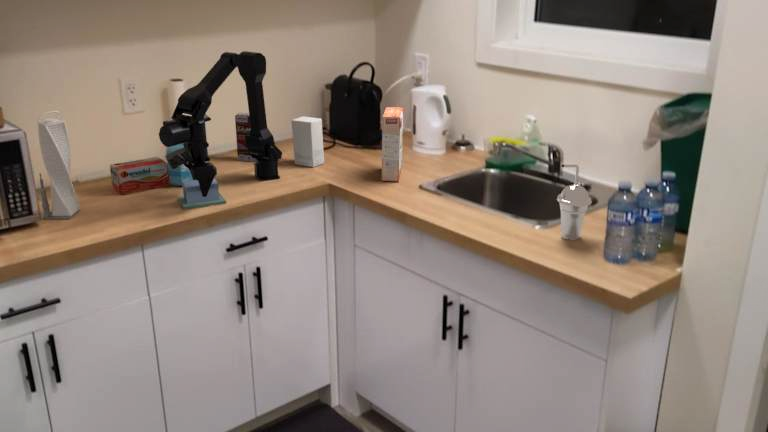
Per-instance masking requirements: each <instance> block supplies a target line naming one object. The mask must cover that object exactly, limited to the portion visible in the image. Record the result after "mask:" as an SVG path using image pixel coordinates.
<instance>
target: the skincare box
mask: <svg viewBox="0 0 768 432" xmlns="http://www.w3.org/2000/svg"><path fill="white" fill-rule="evenodd" d="M291 130H292V140H293V141H292V142H293V143H292V144H293V154H294V155H293V156H294V165H297V166H303V167H308V168H316V167H319V166H321V165H322V164H325V155H324V152H325V151H324V139H323V120H322V118H320V117H311V116H305V115H304V116H303V115H302V116H300V117H297V118H294V119H292V120H291Z"/></svg>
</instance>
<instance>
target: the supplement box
mask: <svg viewBox="0 0 768 432" xmlns="http://www.w3.org/2000/svg"><path fill="white" fill-rule="evenodd" d="M234 119H235V120H234V121H235V138H236V152H237V153H236V154H237V161H239V162H240V161H242V162H254V163H256V158H252V157H251V154H250V152H249V151H248V148H246V140H245V135H248V134H249V132H250V130H251V124H250V116H249V112H238V113H237V114H235V115H234Z"/></svg>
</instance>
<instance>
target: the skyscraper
mask: <svg viewBox="0 0 768 432" xmlns="http://www.w3.org/2000/svg"><path fill="white" fill-rule="evenodd" d="M52 113H56V117H55V118H53V117H52V118H51V117H50V118H46V119H44V121H41V120H42V119H43V117H45V116H47V115H49V114H52ZM59 116H60V111H59V110H51V111H50V110H49V111H47V112H45V113H43V114H41V115H40V117H39V118H38V120H37V131H38V141H39V147H40V148H39V150H40V154H41V157H42V158H41V159H42V161H43V165H44V168H45V171H46V173H47V175H48V176H47V177H48V178H49V181H50V184H49V185H50V186H49V187H50V200H51V201H50V203H51V204H49V200H48V196H47V189H46V188H45V185H44V179H43V178H42V173H39V174H38V175H39V184H40V189H39V192H40V196H41V202H42V203H41V207H42V210H43V217H42V220H46V221H48V220H51V221H52V220H54V221H55V220H56V221H57V220H58V221H69V220H71V219H72V218H73V217H74V216H75V215H77V214H78V213H79V212H80V211H81V209H80V205H79V202H78V198H77V195H76V191H75V188H74V185H73V182H72V178H71V176H70V174H71V165H72V153H71V144H70V138H69V133H68V128H67V124H66V121H65V120H59ZM50 205H51V211H50Z"/></svg>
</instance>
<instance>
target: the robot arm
mask: <svg viewBox="0 0 768 432" xmlns="http://www.w3.org/2000/svg"><path fill="white" fill-rule="evenodd" d="M236 68H237V69H238V73H239V75H240V77H241V78H242V80H243V82H244V83H245V89H246V91H245V92H246V97H247V106H248V107H247V108H248V113H249V116H250V124H251V130H250V132H249V134H248V135H245V140H246V148H248V151H249V152H250V154H251V157H252V158H256V162H254V164H253V165H254V167H253V168H254V176H255V177H256V178H257V179H258V180H259V181H261V182H262V181H268V180H278V179H281V176H280V175H279V168H278V167H279V166H278V165H279V162H278V161H279V160H281V159H282V156H283V152H282V150H281V149H280V148H279V147H278V146H277V145H276V143H275V139H274V138H275V137H274V135H273V134H272V132H271V131H270V129H269V128H268V122H267V115H266V114H267V113H266V107H265V106H266V104H265V95H264V86H263V85H264V84H263V80H264V78H265V75H266V74H267V60H266V56H265V55H264V54H263V53H261V52H255V51H248V50H243V51H241V52H240V53H236V52H230V51H225V52H223V53H221V55H220V57H219V59H218V60H217V61H216V62H215V64H214V65H213V66H212V67H211V68H210V69H209V71H207V73H205V75H204V76H203V78H201V80H200V81H199V82H198V83H197V84H196V85H194V86H191V87H189V88H188V89H186V90H185V91H184V92H183V93H182V94H181V95H179V97H178V99H177V103H176V107H175V109H174V111H173V112H172V113H173V114H172V115H171V118H170V119H171V120H165V121H162V126H161V127H160V129H159V132H158V138H159V140H160V142H161V144H162V145H163V146H164V147H166V148H168V147H171V146H174V145H178V144H182V143H183V145H184V147H183V148H181V149H178V150H176V151H174V152H172V153H169V154H167V155H165V156H164V157H165V159H166V162H167V161H168V163H169V164H170V166H171V168H172V169H176V168H178V166H180V165H182V164H184V166H186V167H187V168H188V169H189V170H190V173H191V175H192V178H193V180H198V183H199V186H200V190H201V193H202V196H203V197H206V196H207V194H208V191H209V189H210V186H211V184H212V181H213V179H215V177H216V176H217V175H218V169H217V167H216V166H215V164H213V163H211V157H210V156H209V153H208V152H209V151H208V147H209V146H210V145H209V142H208V140H207V127H206V122H210V121H211V120H212V118H211V117H210V116H208V115H207V114H206V113H207V111H208V110H209V108H210V106H211V105H212V102H213V101H212V100H213V99H212V98H213V96H214V95H215V93H216V92H217V91H218V89H219V88H221V86H222V85H223V83H224V82H225V81H226V80H227V78H229V76H230V75H231V74H232V72H234V71H235V69H236Z"/></svg>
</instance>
